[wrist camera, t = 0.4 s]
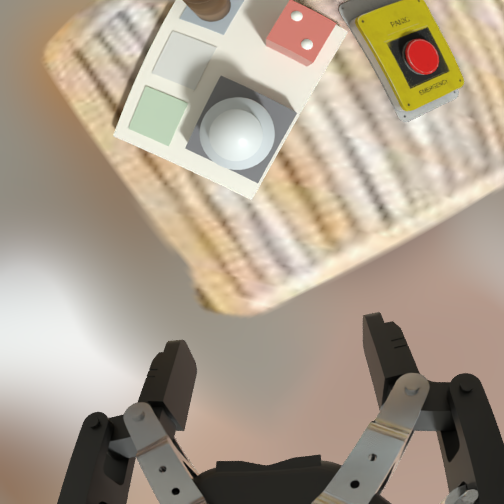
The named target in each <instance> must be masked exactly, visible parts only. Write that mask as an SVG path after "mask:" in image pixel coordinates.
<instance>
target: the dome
mask: <svg viewBox="0 0 504 504" xmlns="http://www.w3.org/2000/svg"><path fill="white" fill-rule="evenodd" d="M274 138H275V131H274V125H273V121H272V119H271V116H270V115H269V113H268V112H267V110H266V109H265V108H264V107H263V106H262V105H260V104H259V103H257V102H256V101H254V100H251V99H248V98H242V97H235V98H228V99H225V100H222V101H220V102H218V103H216V104H215V105H214V106H212V107H211V108H210V109H209V110H208V112H207V113H206V114H205V116H204V118H203V120H202V122H201V126H200V141H201V145H202V147H203V150H204V151H205V153H206V154H207V156H208V157H209V158H210V159H211V160H212V161H213V162H215V163H216V164H218V165H219V166H222V167H224V168H227V169H232V170H242V169H247V168H250V167H253V166H255V165H257V164H258V163H260V162H261V161H262V160H263V159H265V157H266V156H267V155H268V154H269V152H270V150H271V148H272V146H273V143H274Z"/></svg>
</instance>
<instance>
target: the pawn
mask: <svg viewBox="0 0 504 504" xmlns="http://www.w3.org/2000/svg"><path fill="white" fill-rule="evenodd" d="M183 2H184V3H185V4H186V5H187V6H188V7H189V8H190V9H191V10H192V11H193V12H194V13H195V14H196V15H197V16H198V17H199V18H200V19H202V20H204V21H208V22H214V21H218V20H221V19H223V18H224V17H225V16H226V15H227V14H228V13H229V11H230V8H231V2H230V0H183Z"/></svg>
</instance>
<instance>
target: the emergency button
mask: <svg viewBox="0 0 504 504" xmlns="http://www.w3.org/2000/svg"><path fill="white" fill-rule="evenodd" d="M339 13H340V15H341V17H342V18H343V20H344V21H345V23H346V24H347V26H348V27H349V29H350V30H351V32H352V34H353V35H354V37H355V38H356V40H357V42H358V43H359V45H360V47H361V48H362V50H363V52H364V53H365V55H366V57H367V58H368V60H369V62H370V64H371V66H372V67H373V69H374V71H375V73H376V75H377V76H378V78H379V80H380V82H381V84H382V86H383V88H384V90H385V92H386V94H387V96H388V98H389V100H390V102H391V104H392V106H393V108H394V110H395V112H396V114H397V116H398V118H399V119H400V120H401V121H403V122H409V121H411V120H413V119H415V118H417V117H419V116H421V115H423V114H425V113H427V112H429V111H431V110H433V109H435V108H437V107H439V106H442V105H444V104H446V103H448V102H450V101H452V100H454V99H456V98H457V97H458V94H459V91H458V89H460V88H461V87H462V86H463V85H464V79H463V76H462V74H461V72H460V69H459V67H458V65H457V63H456V60H455V58H454V56H453V54H452V52H451V50H450V48H449V46H448V44H447V42H446V40H445V38H444V36H443V34H442V32H441V30H440V28H439V26H438V24H437V23H436V21H435V19H434V17H433V15H432V14H431V12H430V10H429V8H428V7H427V5H426V3H425V2H424V1H423V0H350V1H348V2H345V3H343V4H342V5H340V6H339Z"/></svg>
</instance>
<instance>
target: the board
mask: <svg viewBox="0 0 504 504" xmlns="http://www.w3.org/2000/svg"><path fill="white" fill-rule="evenodd" d="M230 2H231V8H230V11H229V13H228V14H227V15H226V16H225V17H224V18H223V19H221V20H218V21H214V22H208V21H204V20H202V19H200V18H199V17H198V16H197V15H196V14H195V13H194V12H193V11H192V10H191V9H190V8H189V7H188V6H187V5H186V4H185V3H184V2H183V0H176V1H175V2H174V4H173V6H172V8H171V9H170V11H169V13H168V15H167V17H166V18H165V20H164V22H163V24H162V26H161V28H160V30H159V31H158V33H157V35H156V37H155V39H154V41H153V43H152V45H151V47H150V49H149V51H148V53H147V56H146V58H145V60H144V62H143V64H142V66H141V68H140V71H139V73H138V75H137V77H136V80H135V82H134V84H133V87H132V89H131V91H130V94H129V96H128V99H127V101H126V104H125V106H124V109H123V111H122V114H121V116H120V119H119V122H118V124H117V127H116V130H115V132H114V135H113V136H114V137H116V138H119V139H121V140H123V141H126V142H128V143H130V144H132V145H135V146H137V147H139V148H141V149H144V150H146V151H148V152H150V153H153V154H155V155H157V156H159V157H161V158H164V159H166V160H168V161H170V162H172V163H175V164H177V165H179V166H181V167H183V168H185V169H188V170H190V171H192V172H194V173H196V174H198V175H200V176H202V177H205V178H207V179H209V180H211V181H213V182H215V183H217V184H219V185H221V186H223V187H226V188H228V189H230V190H232V191H234V192H236V193H238V194H240V195H242V196H244V197H246V198H248V199H250V200H252V199H253V197H254V195H255V193H256V192H257V190H258V188H259V186H260V184H261V183H262V181H263V179H264V177H265V175H266V174H267V172H268V170H269V168H270V166H271V165H272V163H273V161H274V159H275V157H276V156H277V154H278V152H279V150H280V148H281V147H282V145H283V143H284V141H285V140H286V138H287V136H288V134H289V133H290V131H291V129H292V127H293V125H294V124H295V122H296V120H297V118H298V117H299V115H300V113H301V111H302V110H303V108H304V106H305V104H306V103H307V101H308V99H309V98H310V96H311V94H312V92H313V91H314V89H315V87H316V85H317V84H318V82H319V80H320V79H321V77H322V75H323V73H324V72H325V70H326V68H327V67H328V65H329V63H330V61H331V60H332V58H333V56H334V55H335V53H336V51H337V50H338V48H339V46H340V45H341V43H342V41H343V40H344V38H345V36H346V35H347V33H348V31H346V30H344V29H343V28H341V27H339V26H338V25H335V27H334V29H333V30H332V32H331V34H330V35H329V37H328V39H327V40H326V42H325V44H324V45H323V47H322V49H321V51H320V52H319V54H318V56H317V57H316V59H315V61H314V62H313V63H312V64H310V65H309V66H307V67H306V66H305V65H303V64H301V63H299V62H297V61H295V60H293V59H291V58H289V57H287V56H285V55H283V54H281V53H279V52H277V51H275V50H273V49H271V48H269V47H267V46H266V38H267V36H268V35H269V33H270V31H271V30H272V28H273V26H274V25H275V23H276V21H277V20H278V18H279V16H280V15H281V13H282V11H283V10H284V8H285V7H286V5H287V3H288V2H289V0H230ZM235 97H242V98H248V99H251V100H254V101H256V102H257V103H259V104H260V105H262V106H263V107H264V108H265V109H266V110H267V112H268V113H269V115H270V116H271V119H272V121H273V125H274V131H275V138H274V143H273V146H272V148H271V150H270V152H269V154H268V155H267V156H266V157H265V159H263V160H262V161H261V162H260V163H258V164H257V165H255V166H253V167H250V168H247V169H242V170H232V169H227V168H224V167H222V166H219V165H218V164H216V163H215V162H213V161H212V160H211V159H210V158H209V157H208V156H207V154H206V153H205V151H204V150H203V147H202V145H201V141H200V126H201V122H202V120H203V118H204V116H205V114H206V113H207V112H208V110H209V109H210V108H211V107H212V106H214V105H215V104H216V103H218V102H220V101H222V100H225V99H228V98H235Z"/></svg>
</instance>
